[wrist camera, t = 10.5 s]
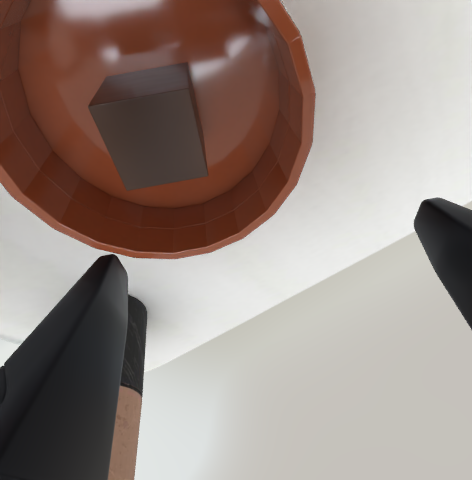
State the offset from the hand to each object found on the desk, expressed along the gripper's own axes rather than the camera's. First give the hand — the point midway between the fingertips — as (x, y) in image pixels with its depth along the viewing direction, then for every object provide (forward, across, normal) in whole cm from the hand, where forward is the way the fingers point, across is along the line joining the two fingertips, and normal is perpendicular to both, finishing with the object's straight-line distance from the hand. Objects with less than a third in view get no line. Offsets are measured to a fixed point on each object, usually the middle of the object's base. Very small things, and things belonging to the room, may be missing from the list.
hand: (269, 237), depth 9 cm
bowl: (+12, +4, 0) cm, 13 cm away
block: (+12, +4, 0) cm, 13 cm away
